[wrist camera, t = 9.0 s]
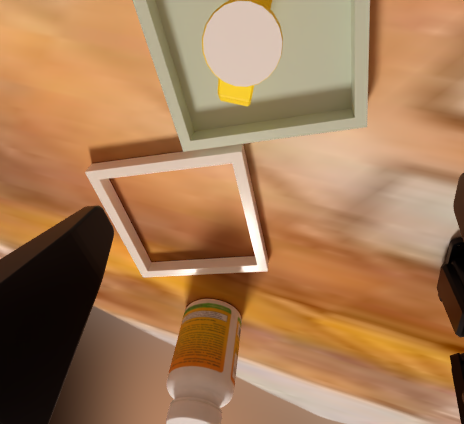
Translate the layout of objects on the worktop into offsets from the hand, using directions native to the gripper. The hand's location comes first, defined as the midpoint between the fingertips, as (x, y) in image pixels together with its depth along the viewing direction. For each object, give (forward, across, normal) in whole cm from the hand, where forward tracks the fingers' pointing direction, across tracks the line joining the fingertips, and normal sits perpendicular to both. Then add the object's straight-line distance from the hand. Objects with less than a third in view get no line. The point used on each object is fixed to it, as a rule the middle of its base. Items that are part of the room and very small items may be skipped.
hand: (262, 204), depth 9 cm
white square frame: (+12, +8, +10) cm, 17 cm away
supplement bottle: (+12, +9, +22) cm, 26 cm away
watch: (+12, +1, -2) cm, 12 cm away
